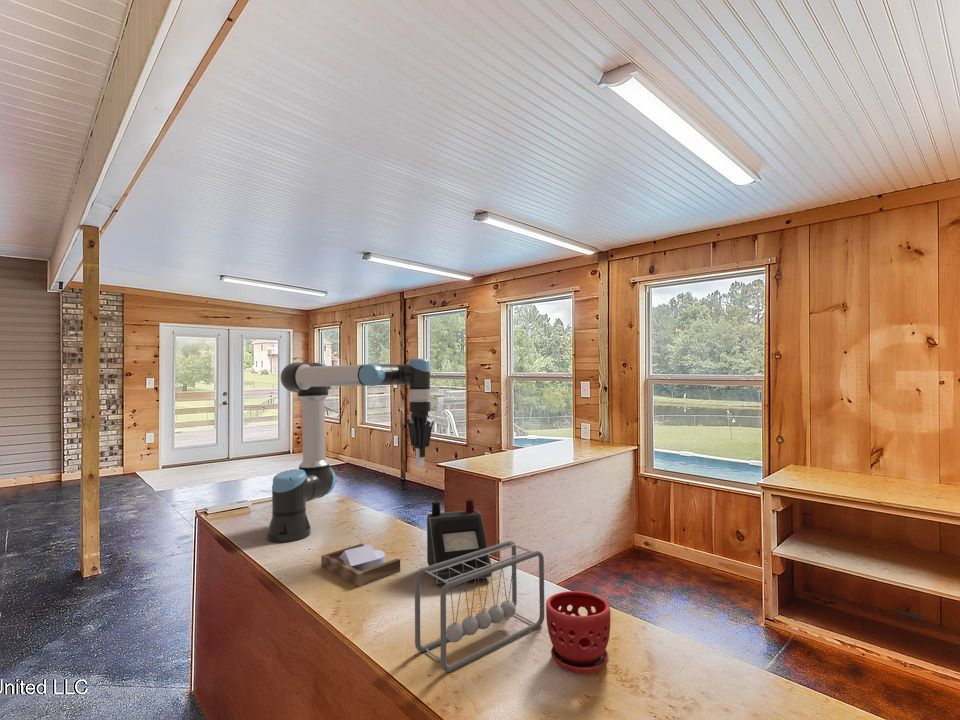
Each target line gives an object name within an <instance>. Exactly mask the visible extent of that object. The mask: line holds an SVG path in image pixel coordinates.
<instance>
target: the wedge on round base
mask: <svg viewBox="0 0 960 720" xmlns="http://www.w3.org/2000/svg"><path fill="white" fill-rule="evenodd" d="M339 558H340V559H341V560H343V561H344V562H343V563H345V564H347V565H349V566H351V567H353V566H355V569H357V570H359V571H362V570H365V569H368V568H371V567H374V566H377V565H380V564H382V563H385V562H386V552H384V550H379V549H374V548H373V546H372V544H371V543H370V544H367V545H364V546H361V547H357V548H353V549H349V550H345V551H344V552H343V553H342V554H341V556H340V557H339Z"/></svg>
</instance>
